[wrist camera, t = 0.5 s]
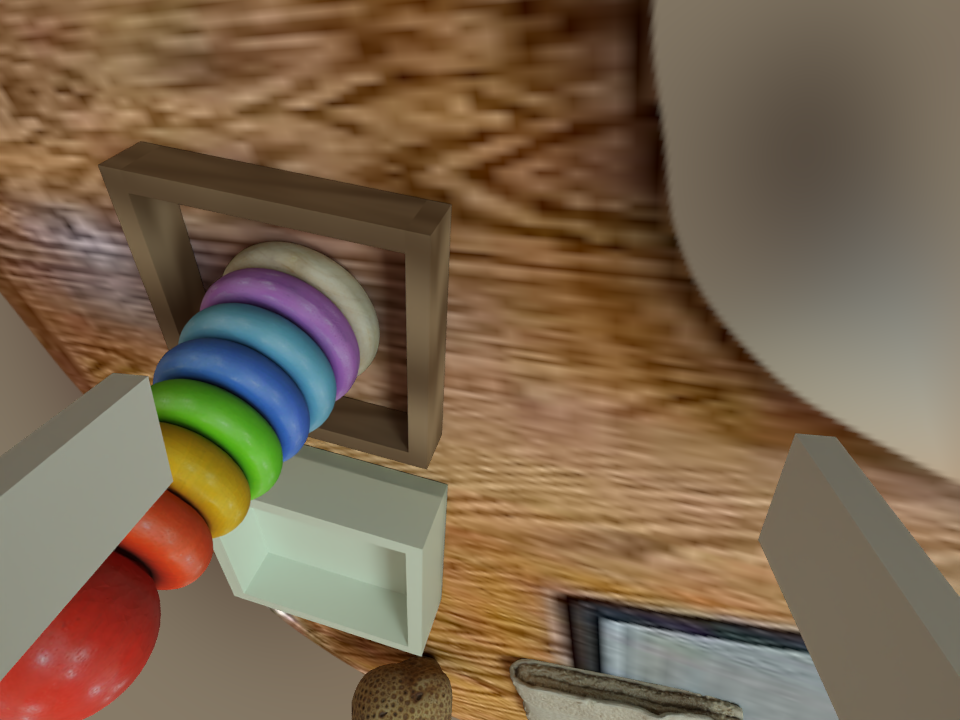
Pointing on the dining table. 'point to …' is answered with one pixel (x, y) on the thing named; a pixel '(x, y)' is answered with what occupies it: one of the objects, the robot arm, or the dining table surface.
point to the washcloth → (607, 696)
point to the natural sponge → (404, 692)
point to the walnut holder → (310, 208)
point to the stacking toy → (206, 461)
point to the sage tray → (344, 548)
